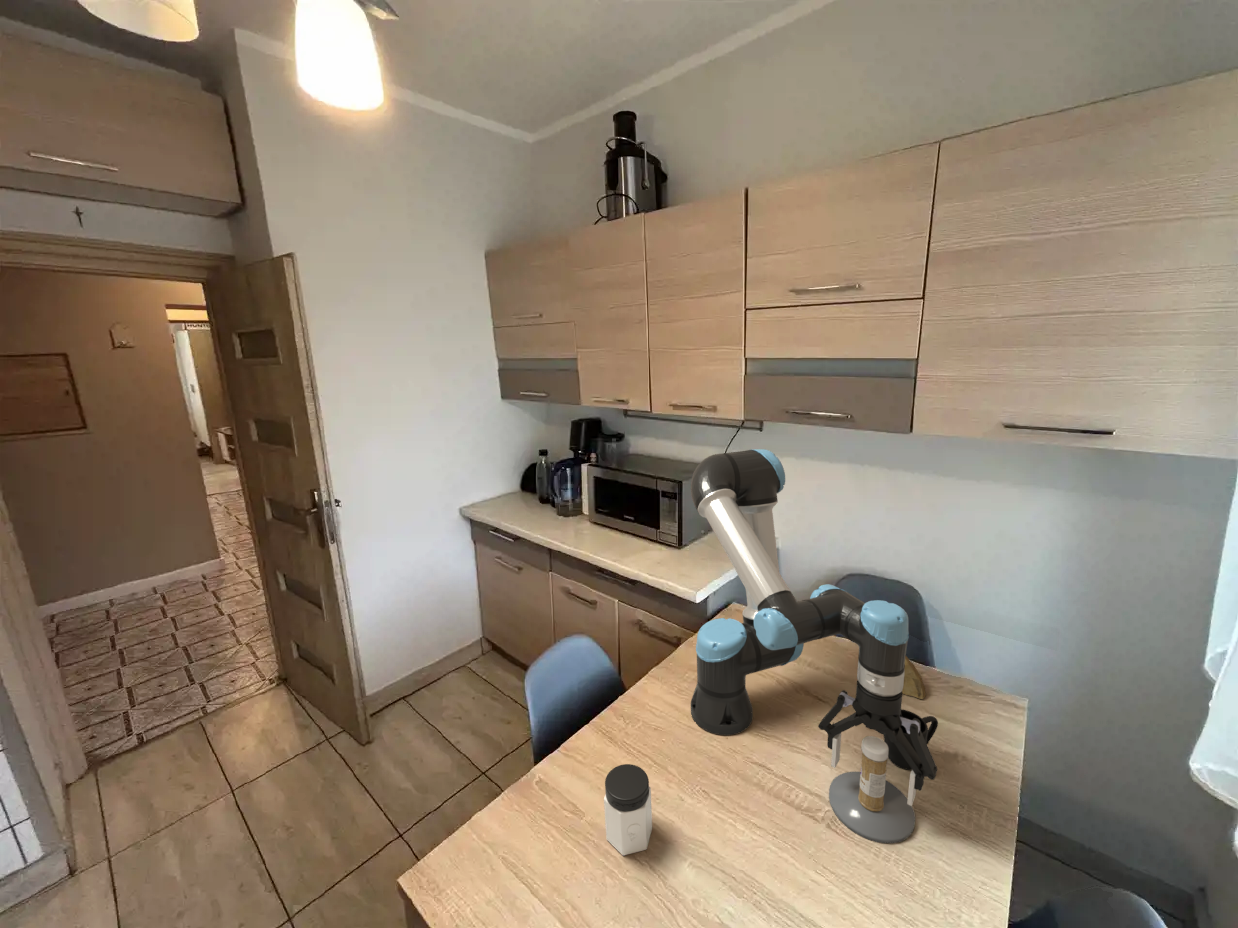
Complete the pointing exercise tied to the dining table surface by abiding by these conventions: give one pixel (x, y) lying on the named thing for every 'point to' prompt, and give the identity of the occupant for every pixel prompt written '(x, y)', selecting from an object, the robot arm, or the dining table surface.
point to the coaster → (872, 825)
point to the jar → (628, 809)
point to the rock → (913, 681)
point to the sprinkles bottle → (873, 773)
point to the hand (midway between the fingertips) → (871, 780)
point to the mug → (927, 733)
